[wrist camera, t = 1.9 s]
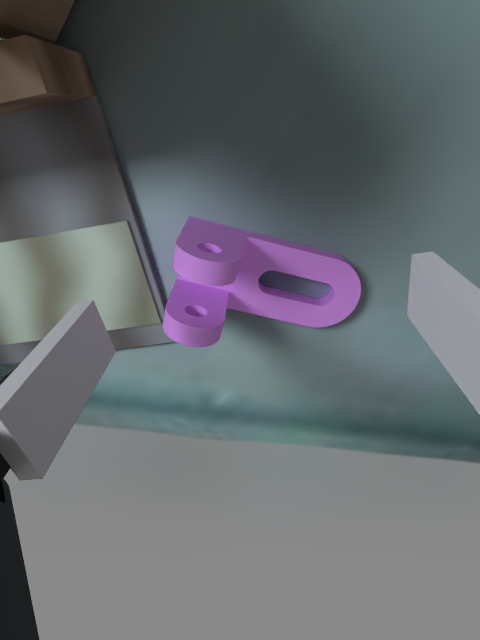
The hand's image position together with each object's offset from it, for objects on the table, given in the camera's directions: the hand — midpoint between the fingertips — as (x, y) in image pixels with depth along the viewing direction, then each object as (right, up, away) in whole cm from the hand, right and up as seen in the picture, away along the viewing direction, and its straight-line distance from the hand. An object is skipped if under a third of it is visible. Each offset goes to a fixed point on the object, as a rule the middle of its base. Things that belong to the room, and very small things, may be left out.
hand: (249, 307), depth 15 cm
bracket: (+2, +3, +11) cm, 12 cm away
